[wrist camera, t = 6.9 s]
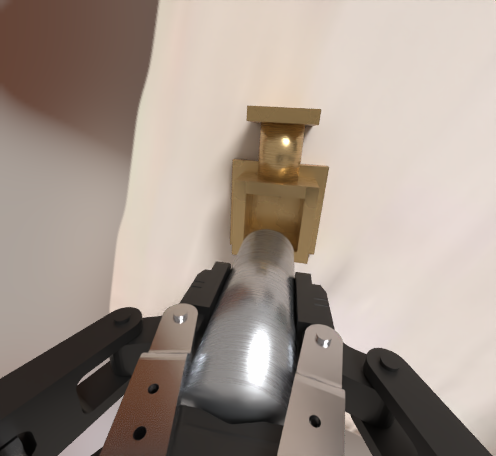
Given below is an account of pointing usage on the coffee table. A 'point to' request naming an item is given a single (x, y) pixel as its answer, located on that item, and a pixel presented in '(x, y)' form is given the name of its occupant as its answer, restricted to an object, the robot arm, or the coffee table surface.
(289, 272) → the silver round-ended rod
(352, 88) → the coffee table surface
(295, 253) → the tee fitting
